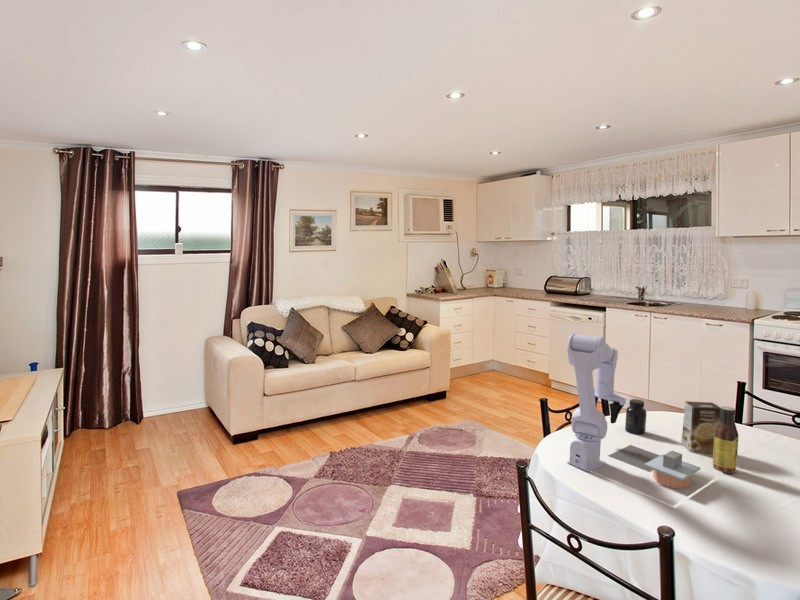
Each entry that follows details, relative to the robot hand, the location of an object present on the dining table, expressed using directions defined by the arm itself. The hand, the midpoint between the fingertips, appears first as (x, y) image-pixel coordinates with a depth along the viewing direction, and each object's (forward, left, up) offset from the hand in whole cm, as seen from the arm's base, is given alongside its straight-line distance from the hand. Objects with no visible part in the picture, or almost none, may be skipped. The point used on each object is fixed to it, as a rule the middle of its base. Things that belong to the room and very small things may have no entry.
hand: (603, 419), depth 172 cm
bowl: (-7, -27, -9) cm, 29 cm away
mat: (0, -14, -9) cm, 16 cm away
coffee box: (+23, -22, -10) cm, 33 cm away
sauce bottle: (+14, -33, -10) cm, 37 cm away
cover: (-7, -27, -5) cm, 28 cm away
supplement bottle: (+20, -1, -10) cm, 22 cm away
